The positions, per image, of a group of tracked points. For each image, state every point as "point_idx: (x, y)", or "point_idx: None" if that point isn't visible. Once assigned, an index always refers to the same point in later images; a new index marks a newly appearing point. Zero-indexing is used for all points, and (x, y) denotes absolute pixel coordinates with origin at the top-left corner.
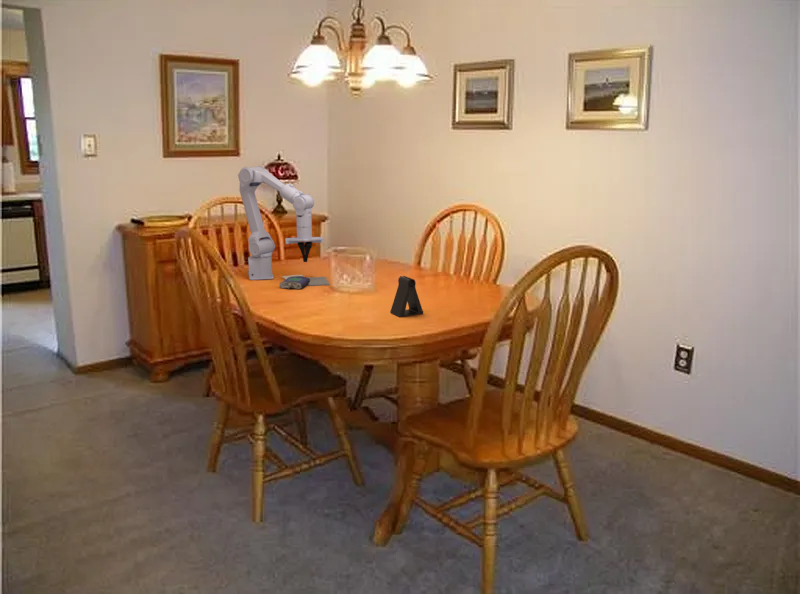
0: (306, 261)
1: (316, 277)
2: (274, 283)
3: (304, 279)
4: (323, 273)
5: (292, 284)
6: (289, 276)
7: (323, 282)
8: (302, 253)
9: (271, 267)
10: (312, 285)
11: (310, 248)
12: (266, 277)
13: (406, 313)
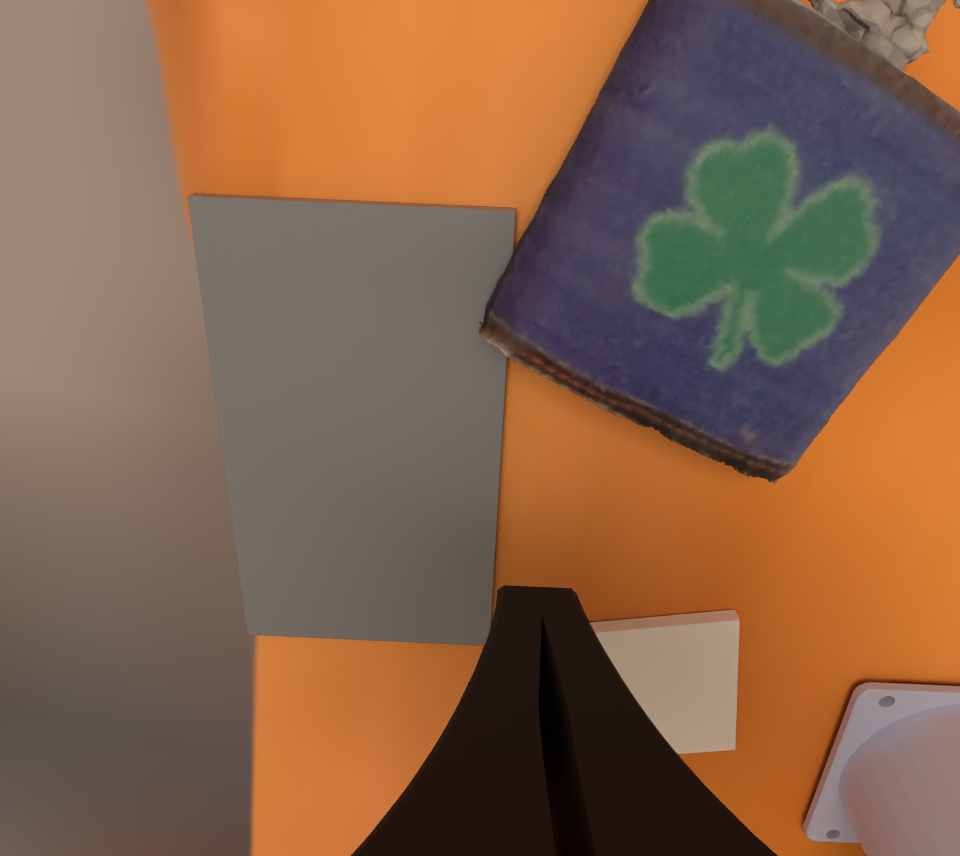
0: (517, 589)
1: (358, 619)
2: (923, 489)
3: (585, 246)
4: (270, 794)
5: (856, 1)
6: (663, 718)
7: (280, 327)
8: (641, 726)
9: (911, 850)
10: (457, 206)
11: (381, 830)
12: (942, 710)
13: None
